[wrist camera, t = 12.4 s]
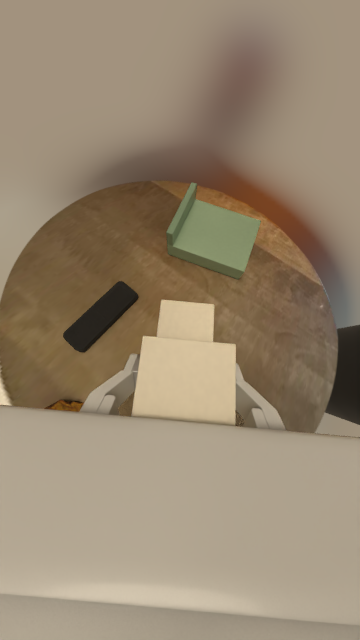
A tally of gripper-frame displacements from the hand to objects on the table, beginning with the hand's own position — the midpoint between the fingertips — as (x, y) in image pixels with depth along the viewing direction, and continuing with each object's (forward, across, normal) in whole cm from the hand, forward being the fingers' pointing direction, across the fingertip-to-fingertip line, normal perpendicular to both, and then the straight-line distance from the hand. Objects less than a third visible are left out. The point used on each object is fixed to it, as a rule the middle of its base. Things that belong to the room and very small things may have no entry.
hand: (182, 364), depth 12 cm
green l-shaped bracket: (+31, -5, -6) cm, 32 cm away
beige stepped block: (+4, 0, +2) cm, 5 cm away
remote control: (+17, +15, +7) cm, 24 cm away
